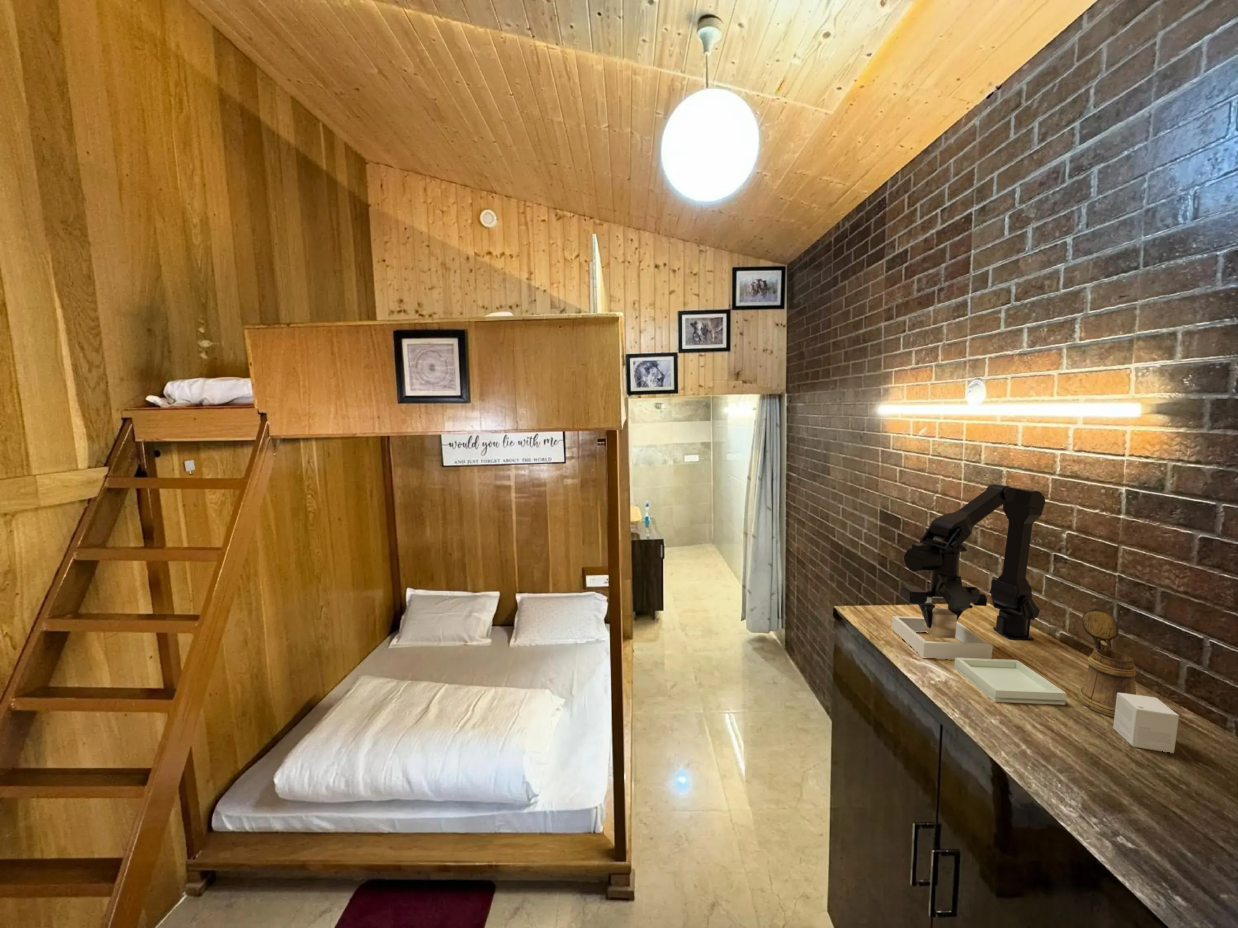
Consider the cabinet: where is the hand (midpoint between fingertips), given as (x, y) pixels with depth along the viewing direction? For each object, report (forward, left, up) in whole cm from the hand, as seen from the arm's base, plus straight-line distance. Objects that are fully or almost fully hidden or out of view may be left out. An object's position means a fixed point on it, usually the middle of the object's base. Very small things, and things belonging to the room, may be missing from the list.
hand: (939, 627), depth 131 cm
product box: (-16, +37, -5) cm, 41 cm away
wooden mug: (-20, +24, -5) cm, 32 cm away
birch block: (0, 0, -2) cm, 2 cm away
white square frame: (0, 0, -4) cm, 4 cm away
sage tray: (-4, +19, -4) cm, 20 cm away
